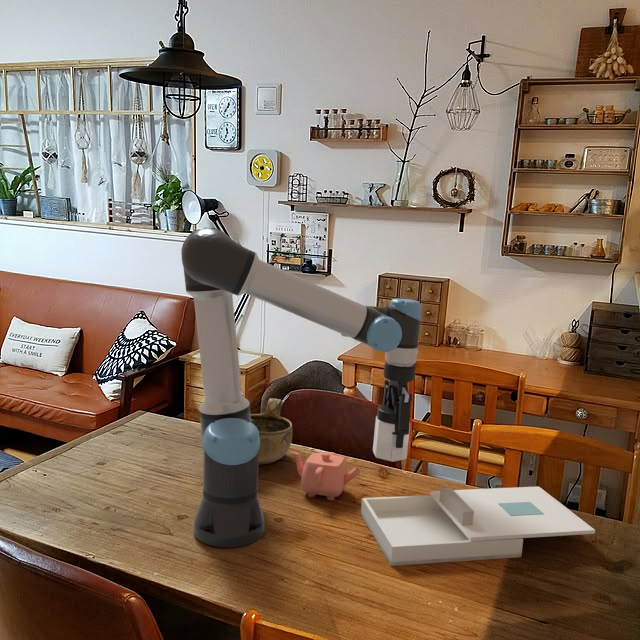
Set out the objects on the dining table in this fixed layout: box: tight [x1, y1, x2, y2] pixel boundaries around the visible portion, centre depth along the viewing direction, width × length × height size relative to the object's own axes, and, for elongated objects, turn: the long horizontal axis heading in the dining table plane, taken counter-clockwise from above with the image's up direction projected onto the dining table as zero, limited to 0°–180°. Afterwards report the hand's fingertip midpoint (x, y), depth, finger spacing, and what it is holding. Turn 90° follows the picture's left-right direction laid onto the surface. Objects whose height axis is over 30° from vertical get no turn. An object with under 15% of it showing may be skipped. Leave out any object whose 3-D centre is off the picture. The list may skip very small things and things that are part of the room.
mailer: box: [360, 494, 524, 567], centre depth 139 cm, size 28×22×4 cm
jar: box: [372, 404, 411, 462], centre depth 159 cm, size 9×8×12 cm
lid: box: [429, 486, 596, 541], centre depth 142 cm, size 28×22×4 cm
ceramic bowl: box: [250, 397, 293, 466], centre depth 175 cm, size 22×17×15 cm
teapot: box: [289, 450, 361, 501], centre depth 157 cm, size 14×12×10 cm
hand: (391, 453), depth 159 cm, fingers closed on jar, 7 cm apart
